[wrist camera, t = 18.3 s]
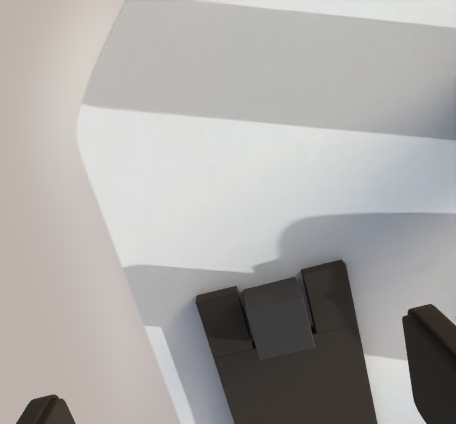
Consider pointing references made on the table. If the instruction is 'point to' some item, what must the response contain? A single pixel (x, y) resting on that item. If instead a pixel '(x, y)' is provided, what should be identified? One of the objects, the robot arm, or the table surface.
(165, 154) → the table surface
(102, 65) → the table surface
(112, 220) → the table surface
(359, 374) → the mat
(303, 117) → the table surface
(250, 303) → the dark block
